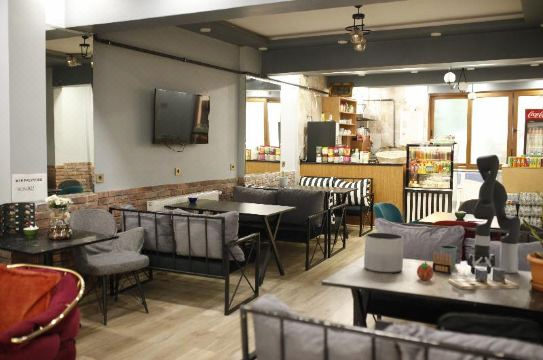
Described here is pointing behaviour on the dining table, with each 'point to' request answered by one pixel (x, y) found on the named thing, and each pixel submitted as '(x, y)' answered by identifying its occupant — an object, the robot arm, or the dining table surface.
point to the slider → (481, 275)
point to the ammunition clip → (441, 263)
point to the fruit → (425, 271)
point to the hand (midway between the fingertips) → (480, 273)
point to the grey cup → (449, 250)
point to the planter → (383, 252)
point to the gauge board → (494, 283)
